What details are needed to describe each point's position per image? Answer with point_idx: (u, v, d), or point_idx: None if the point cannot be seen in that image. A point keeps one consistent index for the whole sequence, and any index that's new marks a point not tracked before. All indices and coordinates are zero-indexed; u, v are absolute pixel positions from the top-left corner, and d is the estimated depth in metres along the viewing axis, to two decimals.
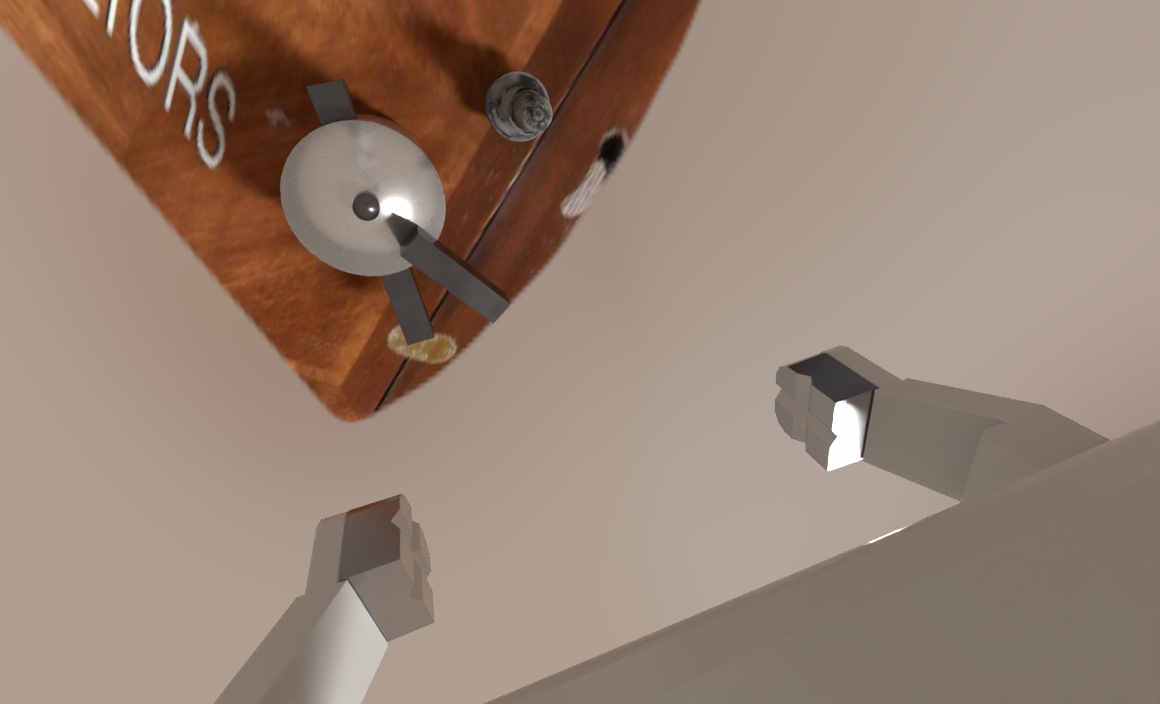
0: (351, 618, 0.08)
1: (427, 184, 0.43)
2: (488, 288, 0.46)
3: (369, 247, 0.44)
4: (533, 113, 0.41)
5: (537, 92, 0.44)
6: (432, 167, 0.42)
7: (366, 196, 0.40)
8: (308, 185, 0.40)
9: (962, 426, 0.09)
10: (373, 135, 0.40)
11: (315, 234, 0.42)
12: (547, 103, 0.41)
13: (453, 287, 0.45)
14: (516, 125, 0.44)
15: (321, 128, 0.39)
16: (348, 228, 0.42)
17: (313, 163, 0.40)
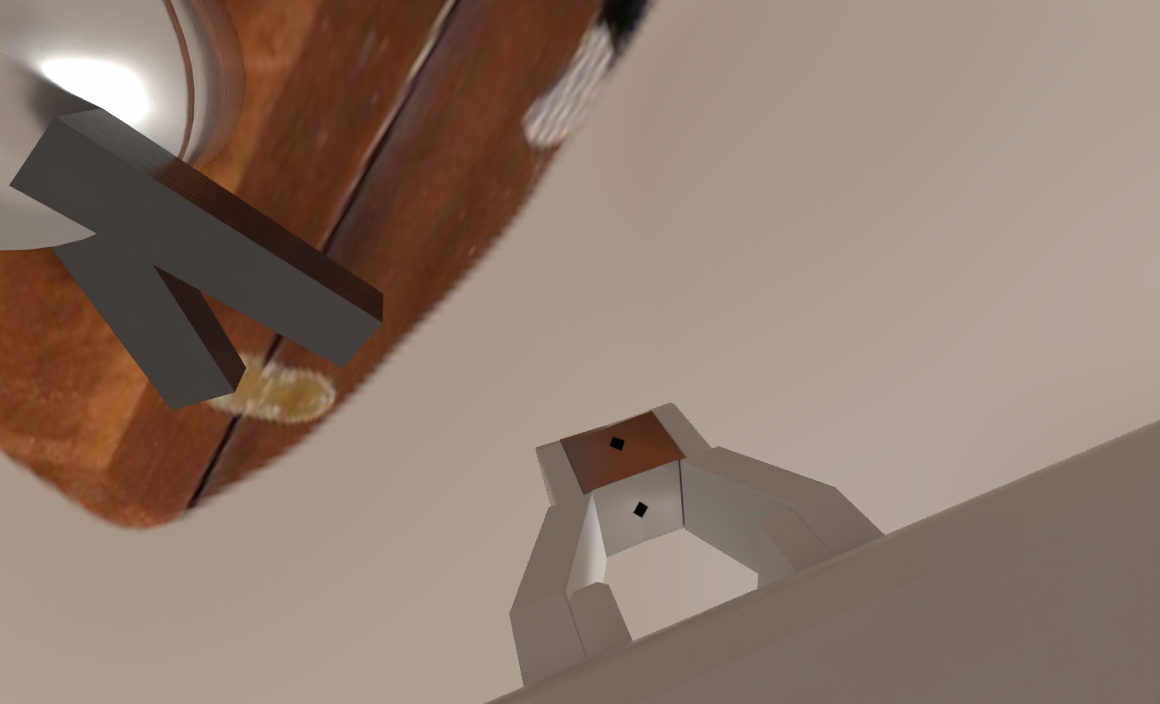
0: (594, 527, 0.09)
1: None
2: (316, 283, 0.18)
3: None
4: None
5: None
6: None
7: None
8: None
9: (756, 506, 0.08)
10: None
11: None
12: None
13: (211, 280, 0.17)
14: None
15: None
16: None
17: None
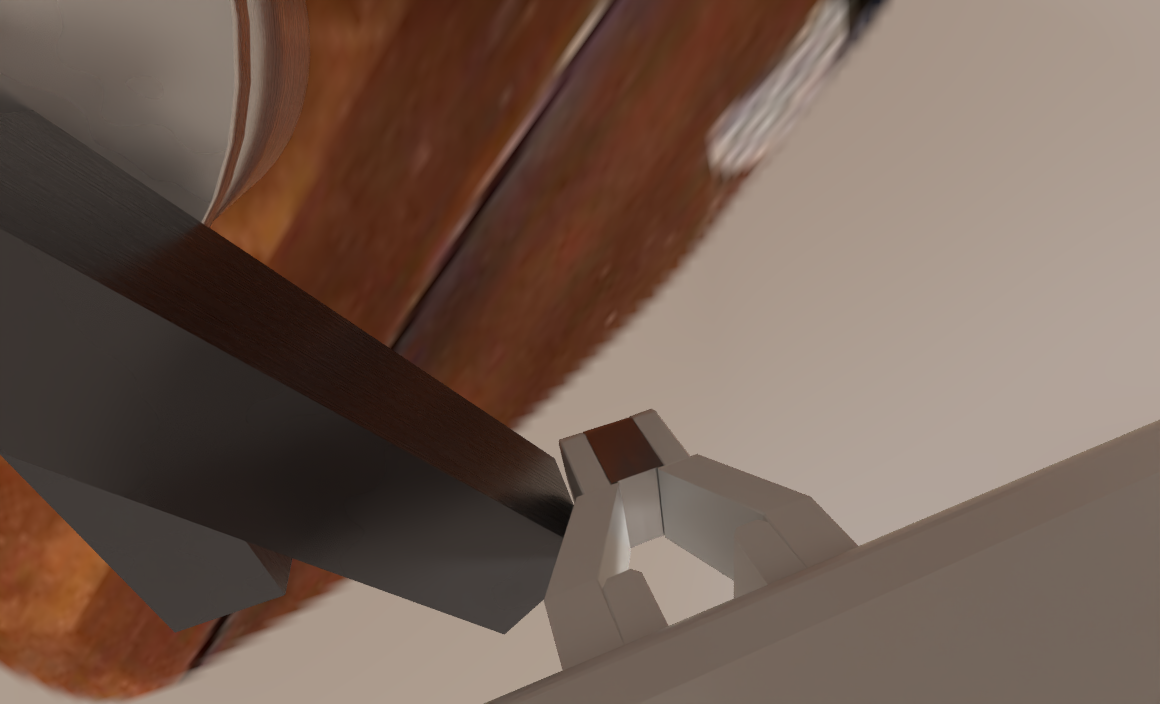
0: (621, 517, 0.09)
1: None
2: (490, 502, 0.08)
3: None
4: None
5: None
6: None
7: None
8: None
9: (732, 515, 0.08)
10: None
11: None
12: None
13: (272, 519, 0.07)
14: None
15: None
16: None
17: None
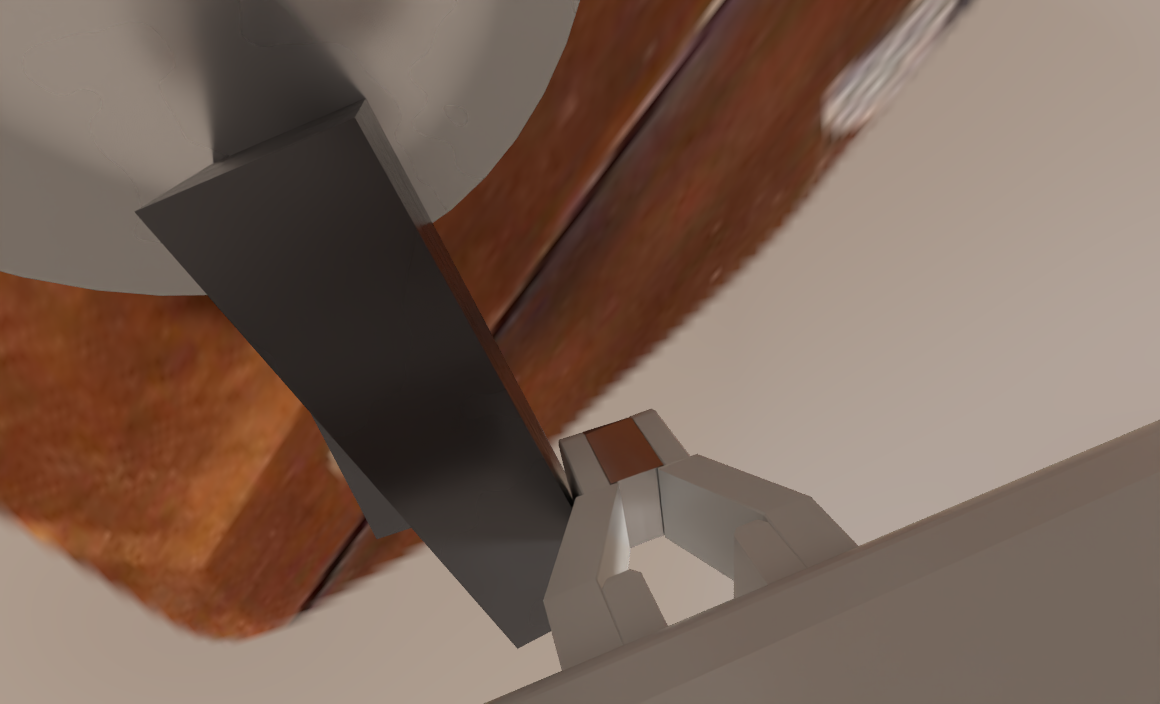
0: (620, 518, 0.09)
1: None
2: None
3: None
4: None
5: None
6: None
7: None
8: None
9: (732, 515, 0.08)
10: None
11: None
12: None
13: (422, 492, 0.08)
14: None
15: None
16: None
17: None
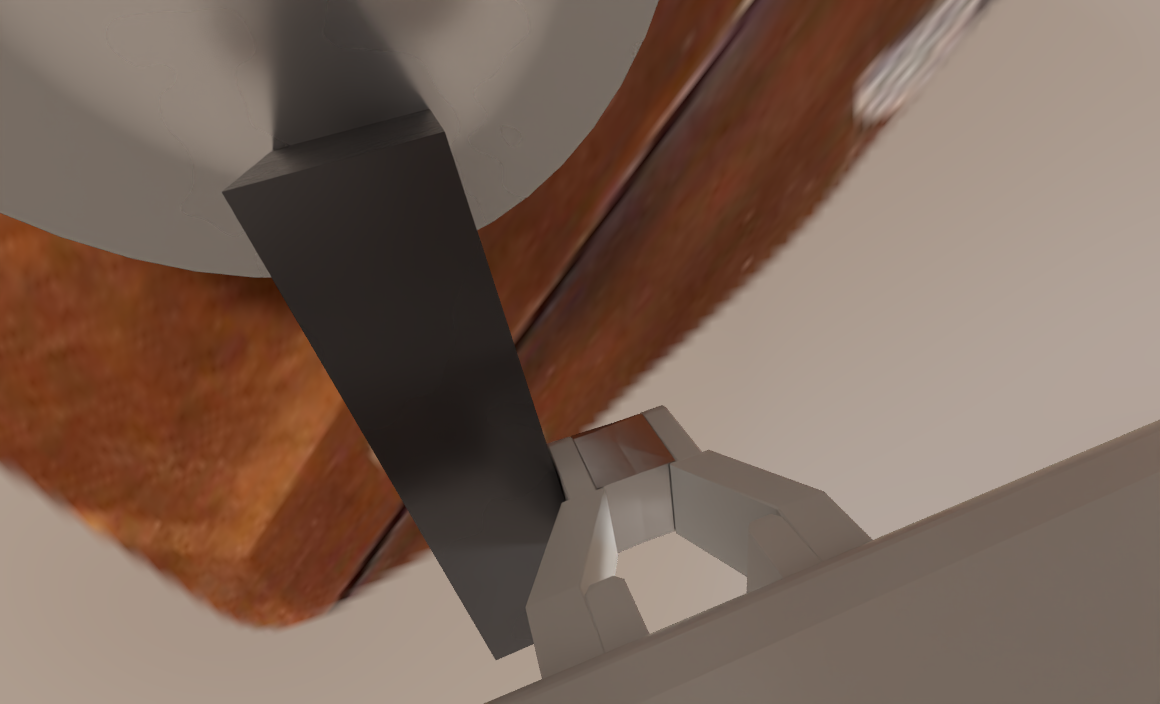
0: (606, 523, 0.09)
1: None
2: None
3: (63, 42, 0.07)
4: None
5: None
6: None
7: None
8: None
9: (745, 510, 0.08)
10: None
11: None
12: None
13: (436, 493, 0.08)
14: None
15: None
16: None
17: None
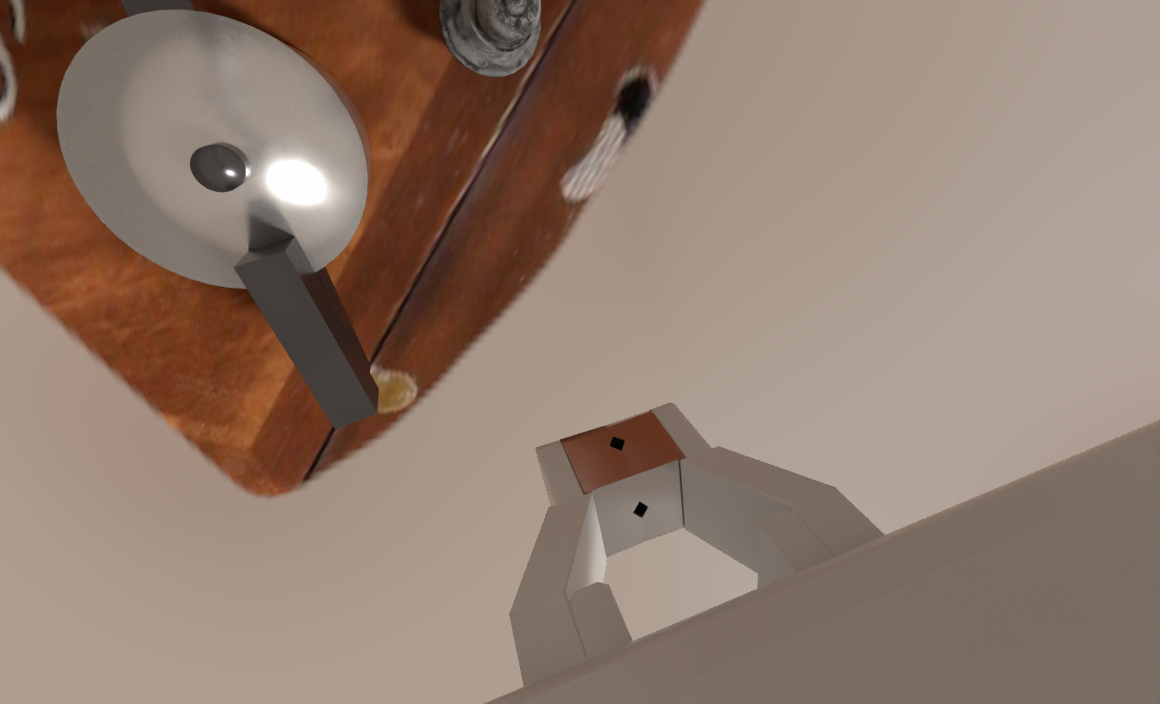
0: (594, 527, 0.09)
1: (343, 190, 0.27)
2: (355, 377, 0.28)
3: (193, 228, 0.25)
4: (507, 0, 0.23)
5: None
6: (364, 172, 0.26)
7: (227, 152, 0.23)
8: (133, 82, 0.22)
9: (756, 506, 0.08)
10: (295, 78, 0.24)
11: (102, 161, 0.23)
12: None
13: (298, 352, 0.27)
14: (483, 36, 0.27)
15: (210, 16, 0.22)
16: (171, 183, 0.24)
17: (163, 55, 0.22)
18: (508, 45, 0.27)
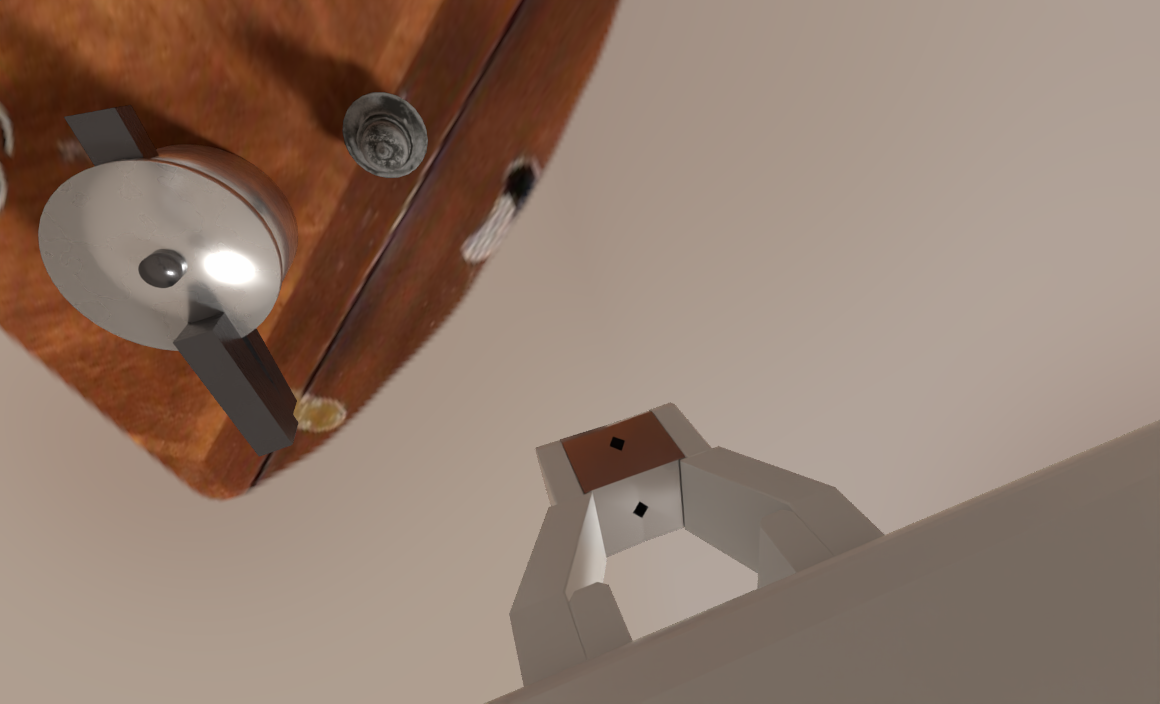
0: (594, 527, 0.09)
1: (261, 278, 0.35)
2: (273, 418, 0.37)
3: (143, 309, 0.33)
4: (377, 150, 0.32)
5: (394, 120, 0.34)
6: (277, 265, 0.35)
7: (166, 261, 0.31)
8: (95, 211, 0.30)
9: (756, 506, 0.08)
10: (218, 203, 0.32)
11: (72, 265, 0.31)
12: (397, 136, 0.32)
13: (226, 401, 0.35)
14: None
15: (152, 164, 0.30)
16: (125, 278, 0.32)
17: (117, 192, 0.30)
18: None
